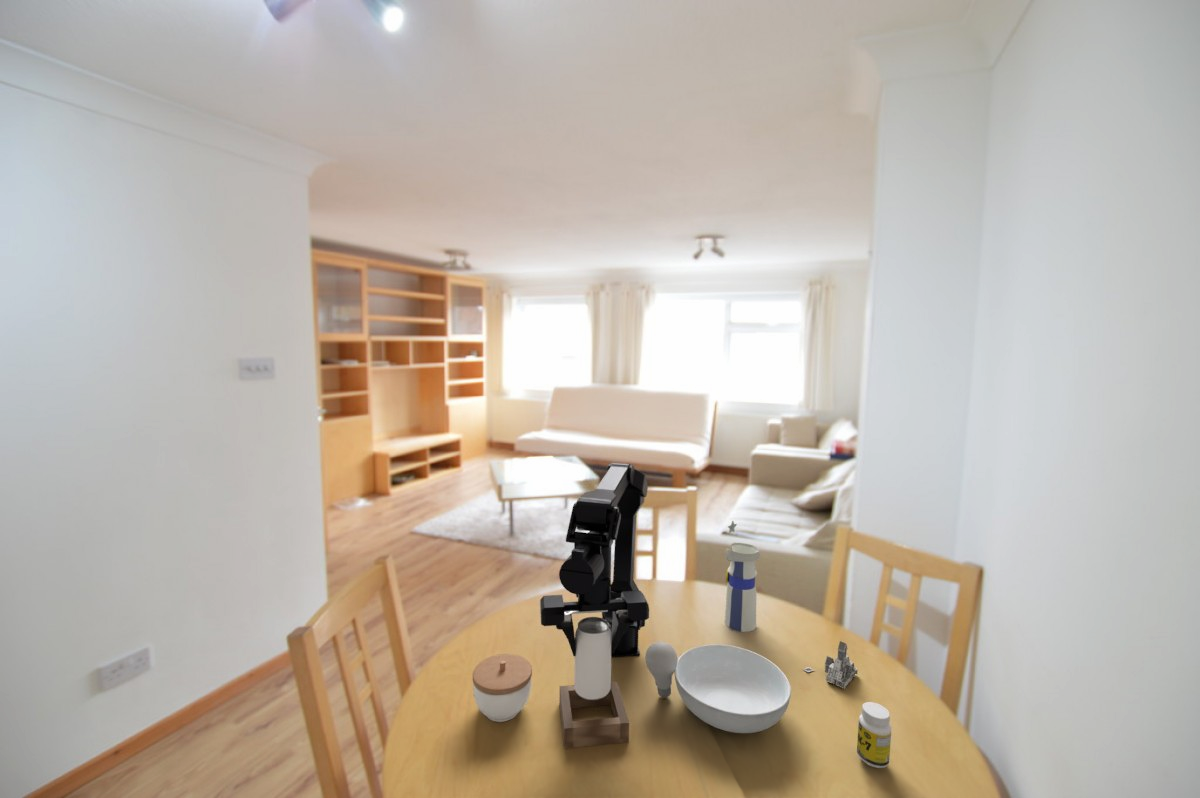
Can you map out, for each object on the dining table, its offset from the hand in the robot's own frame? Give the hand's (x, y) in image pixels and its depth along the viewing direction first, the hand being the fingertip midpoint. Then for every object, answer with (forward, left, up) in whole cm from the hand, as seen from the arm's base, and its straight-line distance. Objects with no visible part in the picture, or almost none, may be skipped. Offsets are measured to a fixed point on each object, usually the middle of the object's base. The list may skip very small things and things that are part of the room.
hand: (593, 653), depth 90 cm
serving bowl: (-26, 0, -13) cm, 29 cm away
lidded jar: (+16, -5, -13) cm, 21 cm away
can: (0, 0, -7) cm, 7 cm away
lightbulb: (-15, -5, -13) cm, 20 cm away
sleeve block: (0, 0, -13) cm, 13 cm away
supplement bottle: (-45, +14, -13) cm, 49 cm away
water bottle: (-41, -29, -13) cm, 52 cm away
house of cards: (-53, -9, -13) cm, 55 cm away
